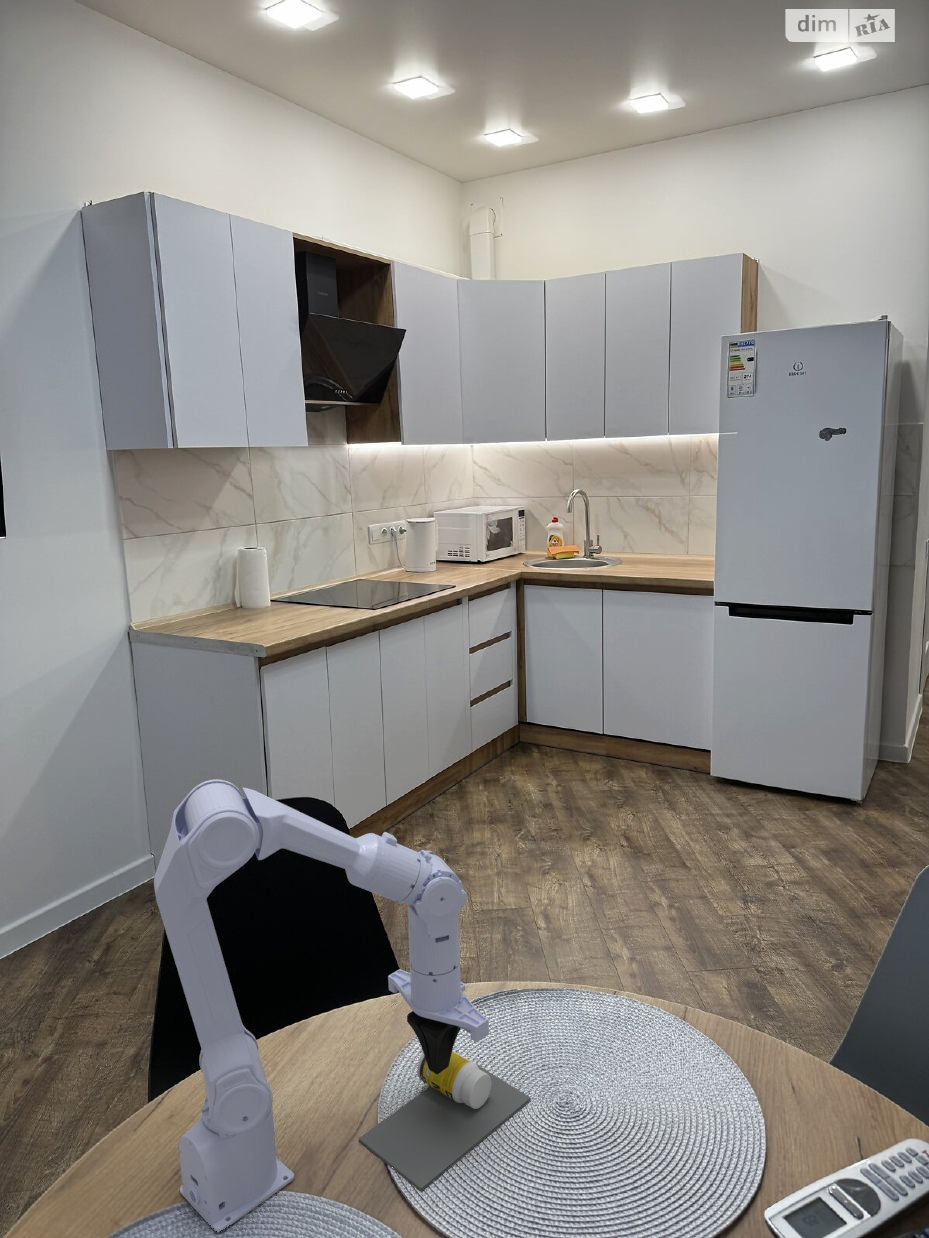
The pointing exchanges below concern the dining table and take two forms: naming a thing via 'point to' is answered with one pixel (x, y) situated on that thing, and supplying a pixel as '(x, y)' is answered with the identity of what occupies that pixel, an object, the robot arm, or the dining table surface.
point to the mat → (439, 1130)
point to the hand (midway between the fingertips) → (439, 1067)
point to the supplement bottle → (458, 1080)
